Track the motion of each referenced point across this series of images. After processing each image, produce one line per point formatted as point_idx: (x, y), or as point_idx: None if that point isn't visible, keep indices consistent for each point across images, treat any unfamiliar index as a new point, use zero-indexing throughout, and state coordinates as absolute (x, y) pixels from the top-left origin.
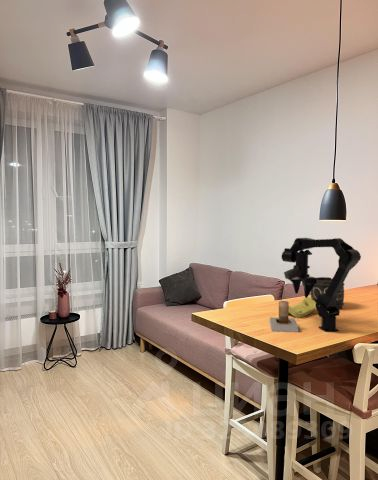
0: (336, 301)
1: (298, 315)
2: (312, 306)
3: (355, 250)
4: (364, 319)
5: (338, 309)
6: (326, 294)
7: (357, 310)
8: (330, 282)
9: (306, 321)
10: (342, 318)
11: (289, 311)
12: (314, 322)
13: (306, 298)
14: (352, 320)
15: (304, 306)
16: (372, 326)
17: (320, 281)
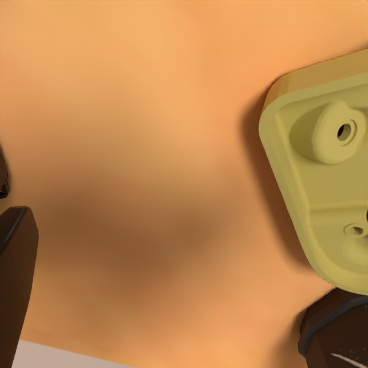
0: (315, 361)
1: (267, 99)
2: (340, 256)
3: None
4: (135, 348)
5: (300, 328)
6: None
7: (256, 364)
8: None
9: (165, 107)
10: (171, 297)
11: (356, 55)
12: (129, 147)
13: None
14: (130, 315)
15: (362, 215)
16: (28, 339)
17: None
